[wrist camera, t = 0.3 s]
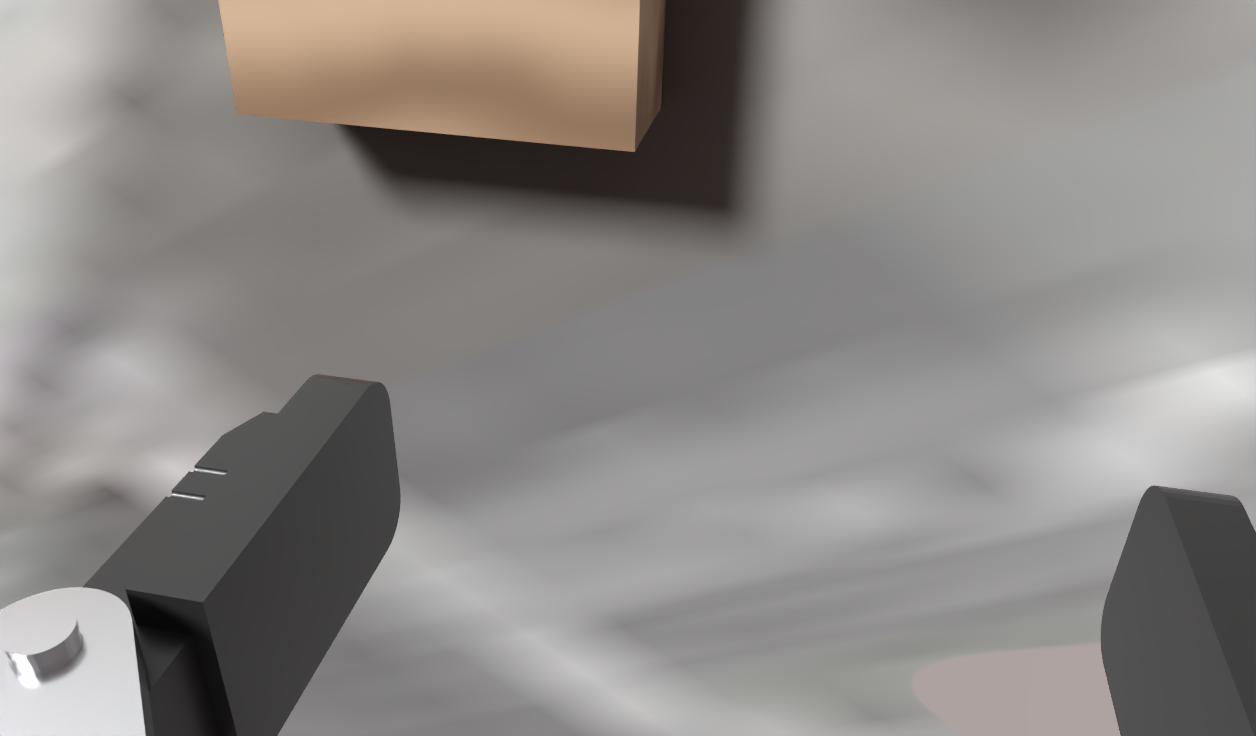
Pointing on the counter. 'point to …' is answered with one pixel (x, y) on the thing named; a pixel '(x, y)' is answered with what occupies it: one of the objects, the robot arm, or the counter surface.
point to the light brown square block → (454, 66)
